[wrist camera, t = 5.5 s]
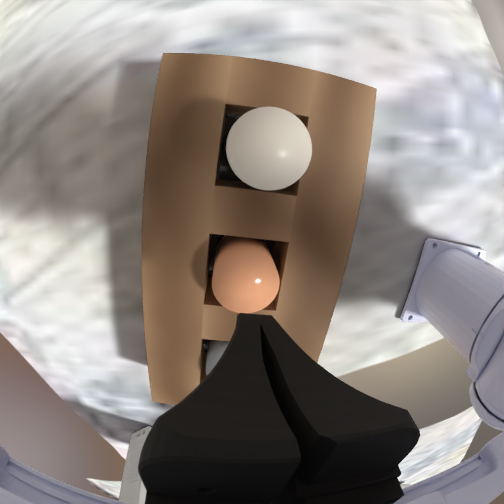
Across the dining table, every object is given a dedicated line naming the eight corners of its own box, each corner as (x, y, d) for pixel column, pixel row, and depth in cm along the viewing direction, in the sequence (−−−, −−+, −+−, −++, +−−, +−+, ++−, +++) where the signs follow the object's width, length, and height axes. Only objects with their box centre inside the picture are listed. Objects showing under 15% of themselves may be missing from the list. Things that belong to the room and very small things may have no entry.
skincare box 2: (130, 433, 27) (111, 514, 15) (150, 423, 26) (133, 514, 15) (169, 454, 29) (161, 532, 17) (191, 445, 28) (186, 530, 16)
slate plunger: (257, 317, 22) (263, 353, 18) (250, 353, 23) (255, 390, 19) (210, 313, 21) (206, 349, 17) (207, 350, 22) (204, 387, 18)
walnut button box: (350, 99, 17) (376, 88, 13) (290, 379, 25) (298, 410, 21) (176, 71, 16) (162, 53, 12) (160, 369, 23) (152, 401, 19)
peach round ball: (272, 233, 19) (285, 256, 15) (264, 282, 20) (273, 315, 16) (218, 226, 18) (214, 248, 14) (213, 277, 20) (209, 310, 15)
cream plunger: (294, 124, 15) (317, 115, 11) (286, 185, 16) (305, 196, 12) (232, 115, 15) (232, 101, 10) (223, 177, 16) (221, 185, 12)
